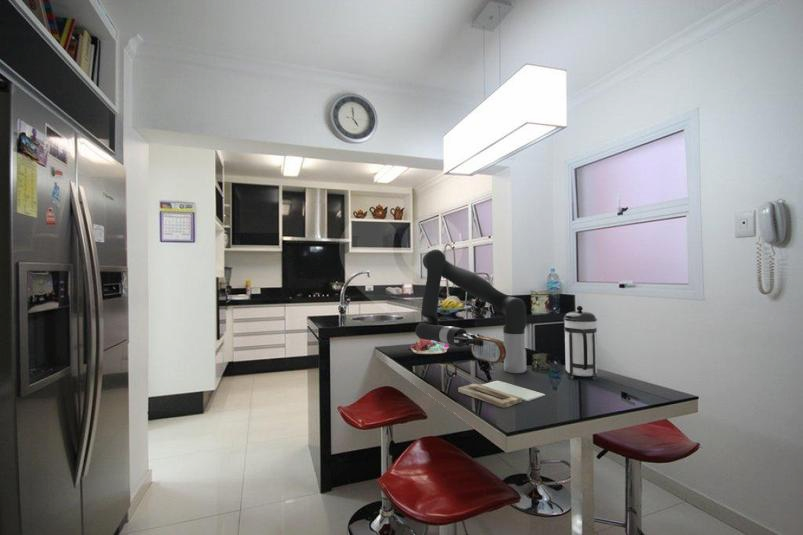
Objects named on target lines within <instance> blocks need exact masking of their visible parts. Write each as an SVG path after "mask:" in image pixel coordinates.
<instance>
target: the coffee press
mask: <svg viewBox="0 0 803 535" xmlns="http://www.w3.org/2000/svg"><path fill="white" fill-rule="evenodd" d="M576 310H577V311H569V312H567V313H565V315H564V317H563V321H564V327H563V331H564V346H565V347H564V352H565V353H564V355H565V357H564V358H565V370H564V371H565V373H566V374H568V376H567V378H568V379H571V380H573V379H574V377H576V376H577V377H590V378H591V379H592V380H593V381H595V382H596V381H599V376H598V375H597V373H598V359H597V358H598V355H597V331H598V330H597V329H598V328H597V321H598V318H596V315H595V314H594V313H592V312H588V311H583V307H582V306H581V305H578V306H577V307H576Z"/></svg>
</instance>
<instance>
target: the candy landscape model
mask: <svg viewBox="0 0 803 535" xmlns="http://www.w3.org/2000/svg"><path fill="white" fill-rule="evenodd" d="M408 347H409V349H410V350H411V351H412V352H413V353H415V354H417V355H418V354H419V355H433V354H434V355H437V354H444V353H447V350H448V349H450V345H447V344H445V343H441V342H437V341H434V340H425V339H420V338H419V337H418V340H416V341H415V344H411V345H410V346H408Z"/></svg>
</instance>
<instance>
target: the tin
mask: <svg viewBox="0 0 803 535" xmlns="http://www.w3.org/2000/svg"><path fill="white" fill-rule="evenodd" d="M483 336H484V335H482V336H479V337H476V338H474V339H480V340H483V346H477V345H470V352H471V354H472V356H473V357H474V358H475V359H477V360H480V361H484V362H487V363H491V364H499V363H503V362H504V359H505V357H506V349H505V346H504V342H502V341H501V340H499V339H497V338H493V337H492V338H491V337H489V336H488V337H487V336H484V337H483Z"/></svg>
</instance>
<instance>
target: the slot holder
mask: <svg viewBox="0 0 803 535" xmlns="http://www.w3.org/2000/svg"><path fill="white" fill-rule="evenodd" d="M457 390H458V392H459V393H461V394H463V395H467V396H469V397H471V398H472V397H473V398H475V399H477V400H481V401H483V402H484V403H485V402H486V403H488V404H492V405H493V406H497V407H499V408H503V409H505V408H509V407H511V406H514V405H517V404H520V403H522V398H521V397H518V396H515V395H511V394H508V393H505V392H502V391H499V390H496V389H493V388H489V387H486V386H483V385H482V384H480V383H476V382H475V383H471V384H468V385H464V386H460V387H458V389H457Z"/></svg>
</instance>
